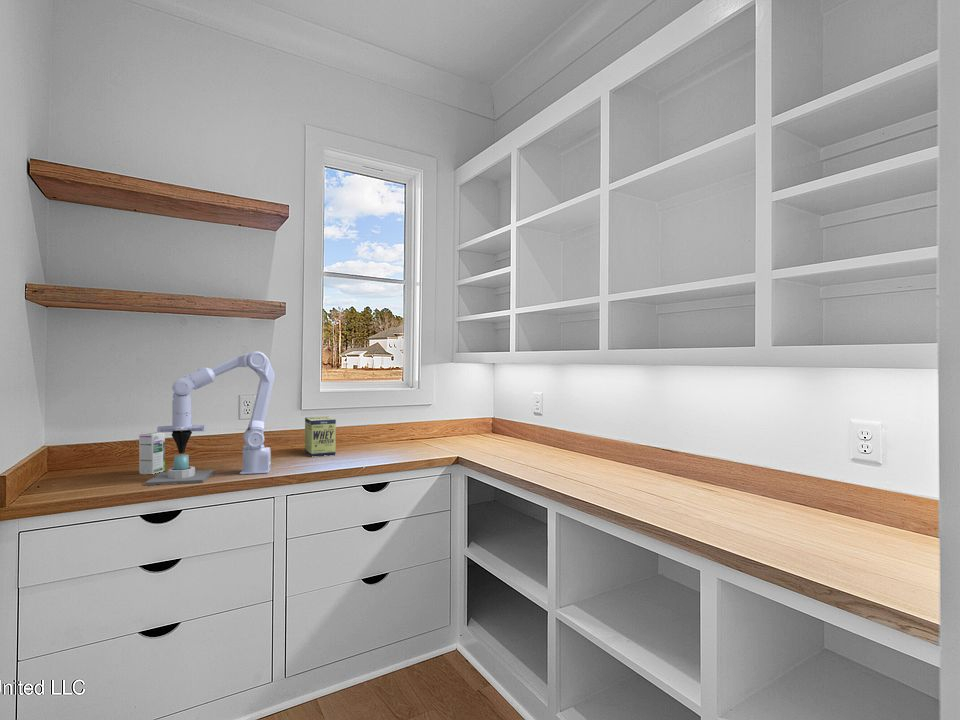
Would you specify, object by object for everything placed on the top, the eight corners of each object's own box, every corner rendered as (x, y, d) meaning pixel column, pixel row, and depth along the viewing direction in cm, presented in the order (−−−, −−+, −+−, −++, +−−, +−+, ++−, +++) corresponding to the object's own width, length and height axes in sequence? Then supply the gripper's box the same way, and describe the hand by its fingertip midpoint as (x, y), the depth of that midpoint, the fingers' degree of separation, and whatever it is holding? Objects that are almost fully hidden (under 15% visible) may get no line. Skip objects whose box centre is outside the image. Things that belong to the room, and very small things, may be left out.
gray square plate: (214, 472, 187) (214, 463, 187) (202, 482, 171) (202, 472, 171) (161, 475, 182) (161, 465, 182) (144, 485, 167) (144, 474, 167)
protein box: (311, 457, 217) (311, 420, 217) (304, 451, 231) (304, 417, 231) (336, 455, 222) (336, 419, 222) (327, 449, 236) (328, 416, 236)
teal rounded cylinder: (189, 474, 179) (190, 454, 179) (186, 476, 175) (187, 456, 175) (175, 475, 178) (175, 454, 178) (172, 477, 174) (172, 457, 174)
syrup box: (152, 474, 182) (152, 434, 182) (138, 474, 184) (138, 433, 184) (165, 471, 188) (165, 431, 188) (151, 470, 189) (152, 431, 189)
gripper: (154, 414, 171) (153, 455, 171) (202, 413, 175) (202, 453, 175) (161, 412, 178) (161, 452, 178) (207, 411, 181) (207, 450, 181)
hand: (181, 452), depth 177 cm, fingers closed
